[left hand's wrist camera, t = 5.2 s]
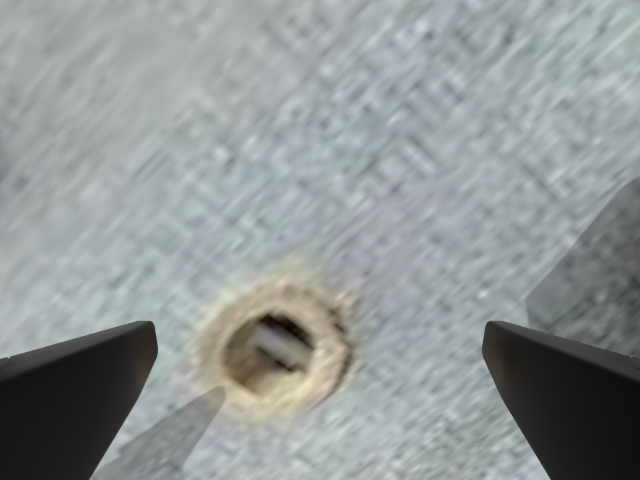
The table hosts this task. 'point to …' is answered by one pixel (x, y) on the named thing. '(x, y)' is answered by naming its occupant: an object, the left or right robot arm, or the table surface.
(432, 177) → the table surface
